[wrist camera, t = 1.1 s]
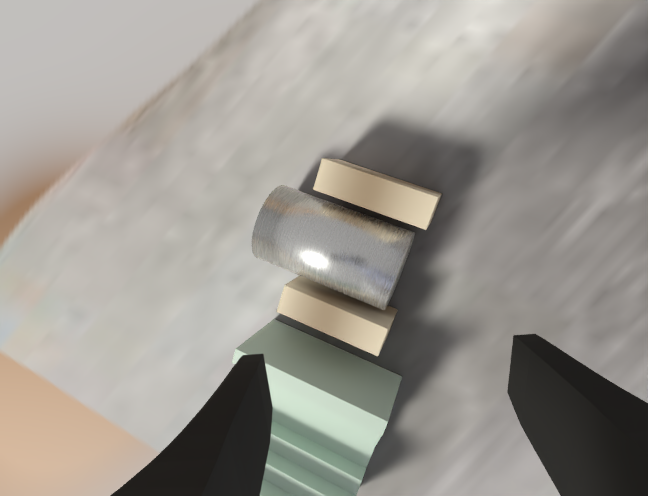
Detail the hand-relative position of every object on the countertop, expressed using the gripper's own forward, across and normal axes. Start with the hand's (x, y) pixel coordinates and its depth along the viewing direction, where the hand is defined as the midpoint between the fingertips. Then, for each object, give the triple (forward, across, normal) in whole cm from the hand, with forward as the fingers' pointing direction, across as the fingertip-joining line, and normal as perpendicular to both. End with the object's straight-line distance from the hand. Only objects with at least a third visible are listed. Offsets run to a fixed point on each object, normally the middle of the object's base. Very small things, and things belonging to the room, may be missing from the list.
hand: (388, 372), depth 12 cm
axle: (+12, +1, 0) cm, 12 cm away
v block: (+10, +3, +10) cm, 14 cm away
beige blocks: (+11, 0, +1) cm, 11 cm away
